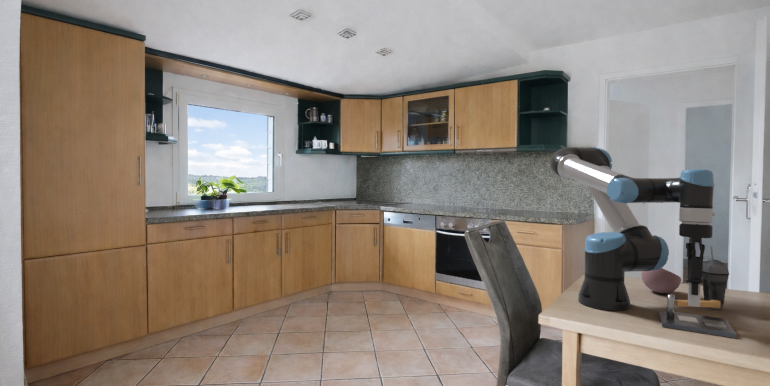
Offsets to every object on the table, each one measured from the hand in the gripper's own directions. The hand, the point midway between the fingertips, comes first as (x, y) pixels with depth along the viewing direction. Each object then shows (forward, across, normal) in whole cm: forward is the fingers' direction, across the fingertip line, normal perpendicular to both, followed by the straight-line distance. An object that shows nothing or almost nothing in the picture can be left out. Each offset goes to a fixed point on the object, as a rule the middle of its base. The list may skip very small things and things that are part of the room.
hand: (693, 305), depth 114 cm
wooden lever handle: (0, +3, -1) cm, 3 cm away
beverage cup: (+4, +22, -7) cm, 24 cm away
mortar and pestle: (+3, +34, +6) cm, 35 cm away
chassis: (+5, 0, 0) cm, 5 cm away
